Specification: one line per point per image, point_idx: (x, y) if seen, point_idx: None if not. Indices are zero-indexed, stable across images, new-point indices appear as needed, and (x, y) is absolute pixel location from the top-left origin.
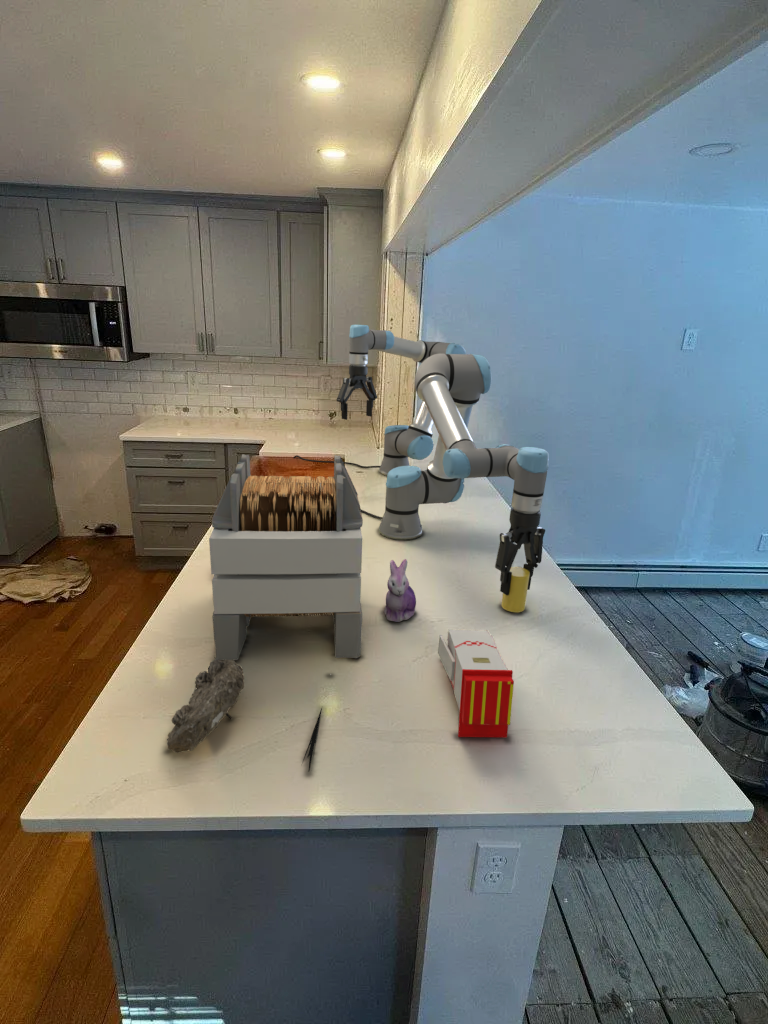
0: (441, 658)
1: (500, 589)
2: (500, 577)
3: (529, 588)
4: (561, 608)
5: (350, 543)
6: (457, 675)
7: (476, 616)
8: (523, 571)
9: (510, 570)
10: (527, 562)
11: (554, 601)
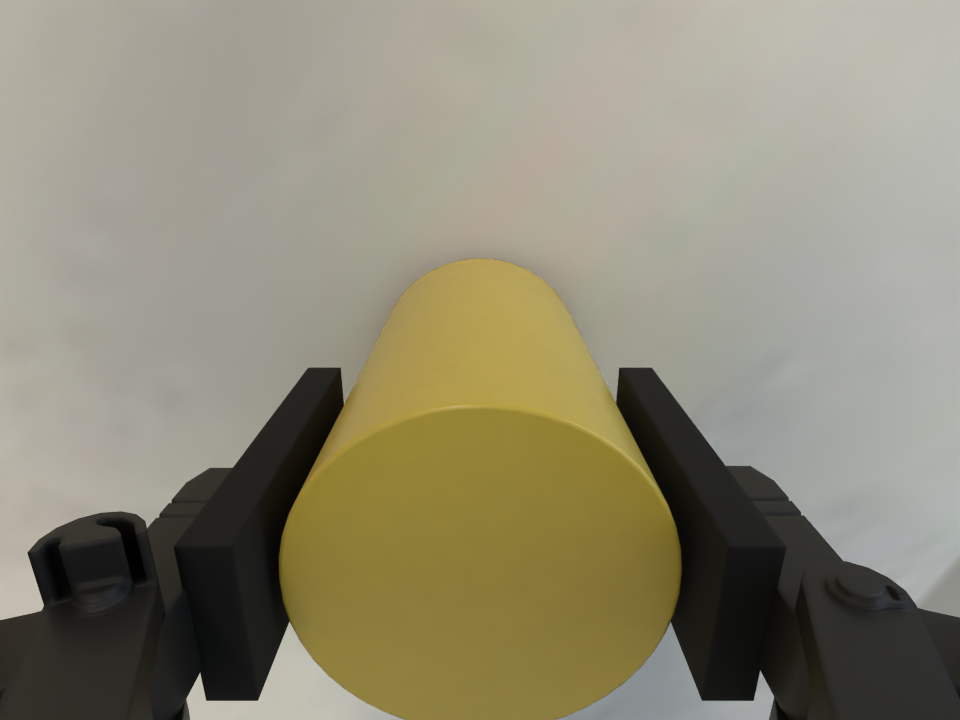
0: None
1: (304, 377)
2: (168, 508)
3: None
4: (820, 502)
5: None
6: None
7: (114, 328)
8: (568, 622)
9: (380, 520)
10: (794, 618)
11: (876, 407)
